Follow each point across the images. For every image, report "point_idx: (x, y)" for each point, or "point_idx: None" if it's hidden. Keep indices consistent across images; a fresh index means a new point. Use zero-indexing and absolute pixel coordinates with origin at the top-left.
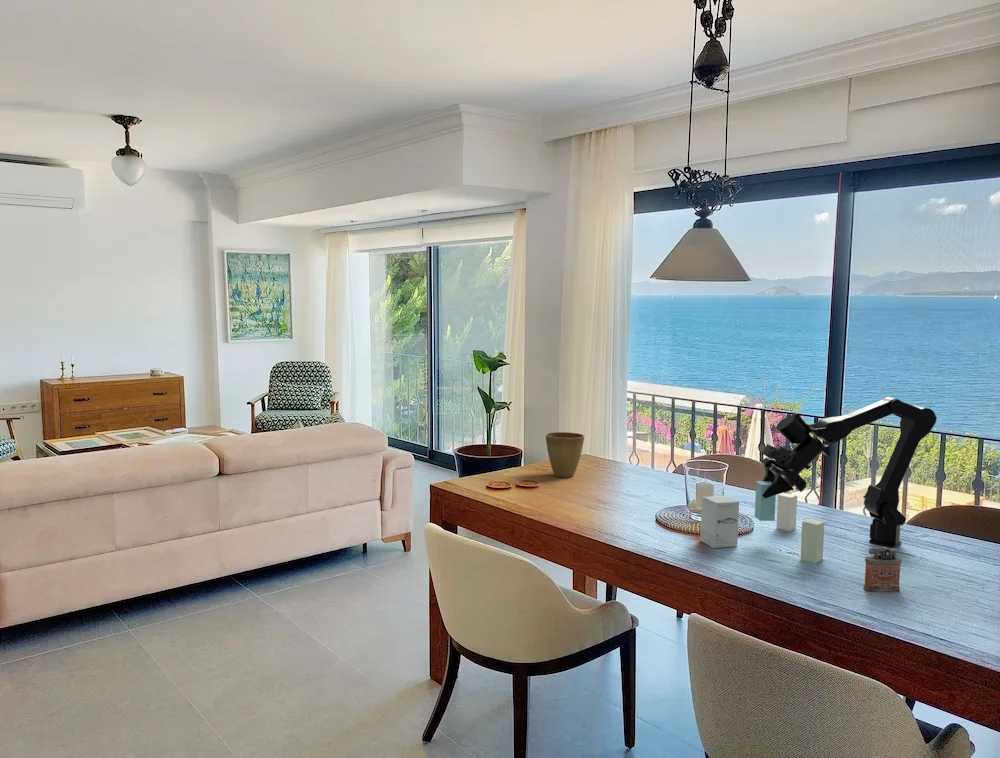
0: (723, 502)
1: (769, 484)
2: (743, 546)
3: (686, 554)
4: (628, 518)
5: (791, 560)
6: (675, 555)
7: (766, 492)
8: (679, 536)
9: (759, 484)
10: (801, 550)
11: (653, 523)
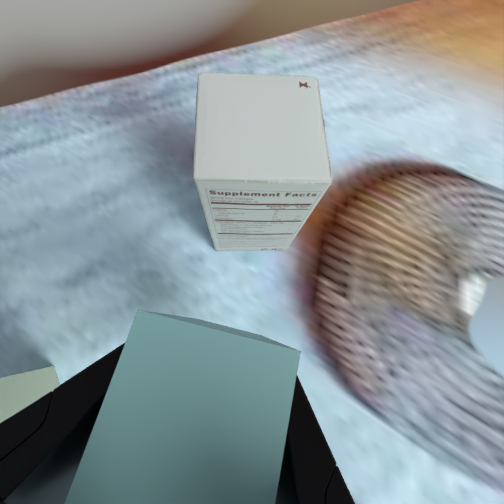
0: (199, 102)
1: (106, 417)
2: (213, 269)
3: None
4: (475, 125)
5: (60, 331)
6: None
7: (124, 344)
8: None
9: (200, 325)
10: (28, 372)
11: (434, 157)
